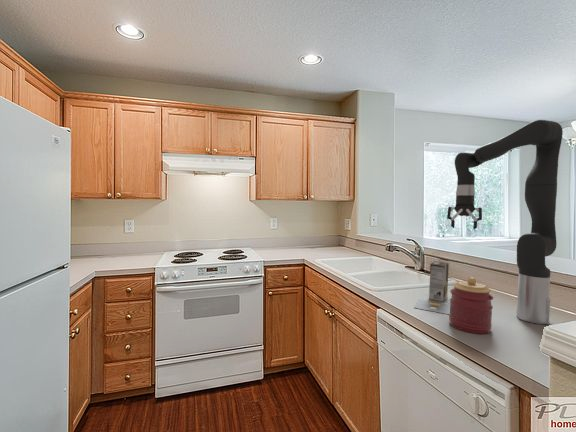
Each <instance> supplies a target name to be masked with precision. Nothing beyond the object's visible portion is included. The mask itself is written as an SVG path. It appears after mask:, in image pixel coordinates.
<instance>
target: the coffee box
mask: <svg viewBox="0 0 576 432" xmlns="http://www.w3.org/2000/svg"><path fill="white" fill-rule="evenodd" d="M429 265H430V267H429V268H430V269H429V288H428V299H431V300H436V301H438V302H445V300H446V299H447V297H448V292H449V291H448V289H449V267H450V266H449V265H450V263H449V262H443V261H435V260H434V261H433V262H431V263H430V264H429Z"/></svg>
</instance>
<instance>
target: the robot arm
mask: <svg viewBox="0 0 576 432" xmlns="http://www.w3.org/2000/svg"><path fill="white" fill-rule="evenodd" d="M563 132H564V131H563V126H562V125H561V124H560V123H558V122H557V121H553V120H547V119H536V120H533V121H531V122H528V123H527V124H525V125H523V126H522V127H520V128H519V129H517V130H514V131H513V132H511V133H509V134H508V135H506V136H504V137H501V138H499V139H497V140H495V141H492V142H490V143H487V144H484V145H481V146H480V147H477V148H476V149H475V151H474V152H466V151H462V152H459V153H457V154H456V156H455V158H454V167H455V172H456V176H457V186H456V190H455V196H456V197H455V206H448V208H447V217H446V219H448V220H450V226H451V228H452V229H455V223H456V221H455V219H456V218H457V217H458V216H460V217H471V218H472V220H473V228H472V229H473V230H476V229H477V227H478V221H482V220H483V209H482V207H475V197H476V196H475V195H476V194H475V193H476V192H475V191H476V189H475V183H476V182H475V180H476V176H475V173H473V172H471V171H470V169H472V168H476V167H478V166H480V165H482V164H484V163H486V162H489V161H493V160H494V159H498V158H500V157H502V156H505V154H506V153H509V152H510V151H511V150H514V149H516V148H520V147H525V146H530V145H532V146H535V149H536V152H535V161H534V164H533V165H532V167H531V169H530V171H529V173H528V175H527V176H526V179H525V182H524V183H525V185H524V202H525V204H526V207H527V209H528V212H529V215H530V218H531V229H530V232H529V233H524V234H522V235H520V236H519V238H518V240H517V243H516V266H517V268H518V278H517V279H518V283H517V297H516V301H517V302H516V312H515V313H516V314H515V315H516V318H517V319H520V320H521V321H524V322H528V323H533V324H538V325H549V324H550V315H551V314H550V313H551V298H550V283H551V270H550V269H549V268H548V267H547V265H546V258H547V257H550V256H551V255H553V254H554V253H555V251H556V249H557V234H556V233H557V232H556V221H555V220H556V208H557V206H556V205H557V192H558V172H559V157H560V151H561V146H562V140H563V135H564V134H563ZM453 210H454V211H455V212H456V213H455V214H454V215H453V216H451V215H452V214H451V213H452V212H453ZM475 211H476V213H478V217H476V216H475V215H474V214H473V213H474V212H475Z"/></svg>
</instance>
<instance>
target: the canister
mask: <svg viewBox="0 0 576 432" xmlns="http://www.w3.org/2000/svg"><path fill="white" fill-rule="evenodd" d="M452 285H453V288H452V289H450V294H451V298H450V299H449V302H450V303H449V304H450V315H449V316H448V319H449V324H450V325H451V326H452V327H453V328H455V329H458V330H460V331H463V332H465V333H466V332H467V333H470V334H477V335H478V334H479V335H481V334H482V335H483V334H489V333H490V332H492V331H491V330H492V326H493V323H492V317H493V316H492V314H493V308H494V307H493V305H492V300H493V299H494V296H493V295H492V294H490V293H491V291H492V290H491V289H490V287H487V286H486V285H485V284H483V283H480V282H477V279H476V278H475V277H468V278H467V280H460V281H458V282H455V283H453V284H452Z"/></svg>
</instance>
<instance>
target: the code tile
mask: <svg viewBox="0 0 576 432" xmlns="http://www.w3.org/2000/svg"><path fill="white" fill-rule="evenodd" d="M413 309H418V310H422V311H428V312H433V313H439V314H443V315H450V303H447V302H442V301H434V300H427V299H424V298H423V299H422V298H418V300H417V301H416V302H415V305H414V307H413Z"/></svg>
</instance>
